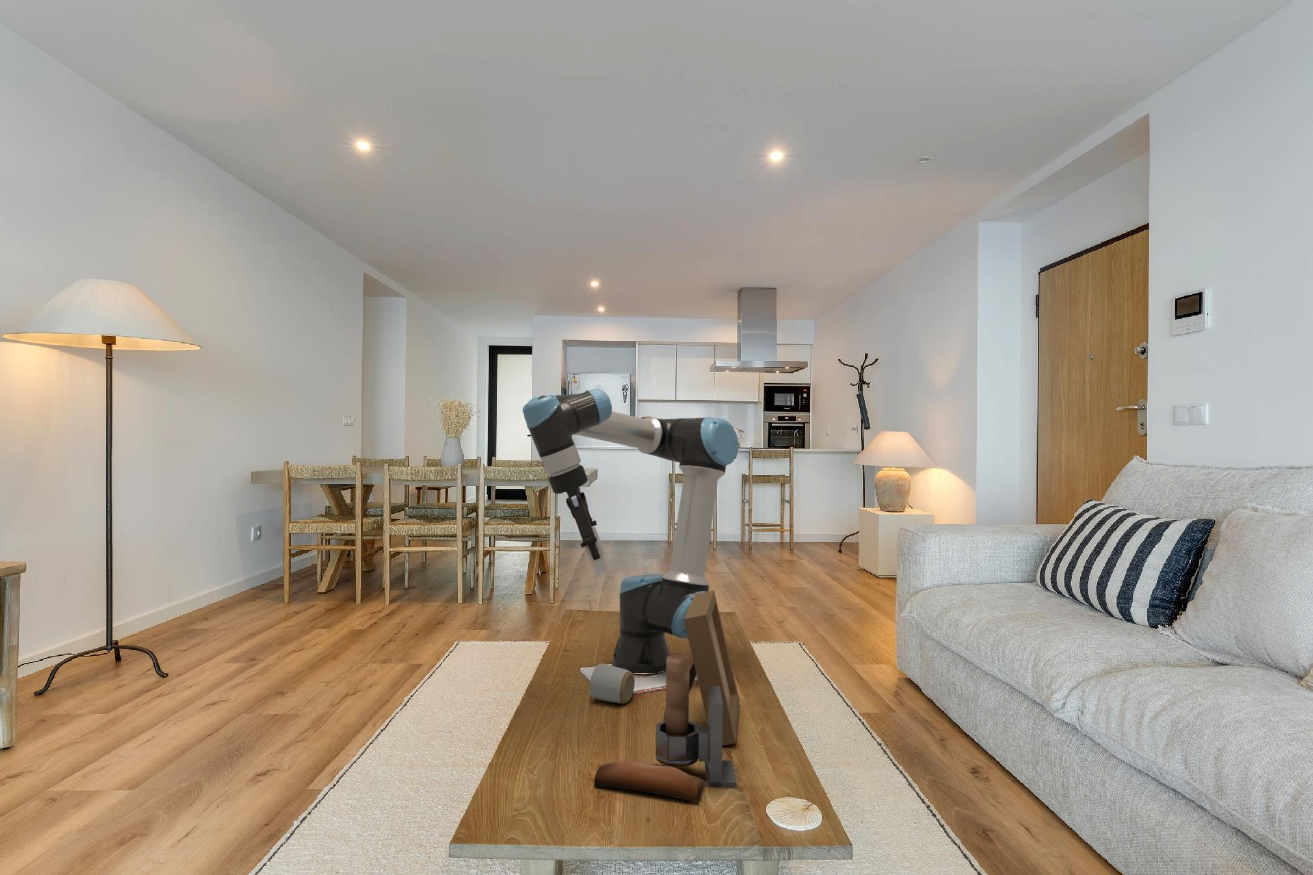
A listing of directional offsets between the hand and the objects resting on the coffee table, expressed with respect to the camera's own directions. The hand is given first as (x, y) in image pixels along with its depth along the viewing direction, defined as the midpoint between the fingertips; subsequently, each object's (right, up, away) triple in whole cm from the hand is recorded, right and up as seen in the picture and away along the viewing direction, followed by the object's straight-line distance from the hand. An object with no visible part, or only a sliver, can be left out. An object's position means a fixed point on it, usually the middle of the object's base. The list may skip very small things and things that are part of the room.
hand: (601, 564), depth 143 cm
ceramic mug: (+2, -32, +11) cm, 34 cm away
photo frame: (+21, -32, -2) cm, 39 cm away
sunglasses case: (+11, -33, -28) cm, 44 cm away
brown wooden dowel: (+15, -28, -24) cm, 40 cm away
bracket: (+18, -32, -24) cm, 44 cm away
